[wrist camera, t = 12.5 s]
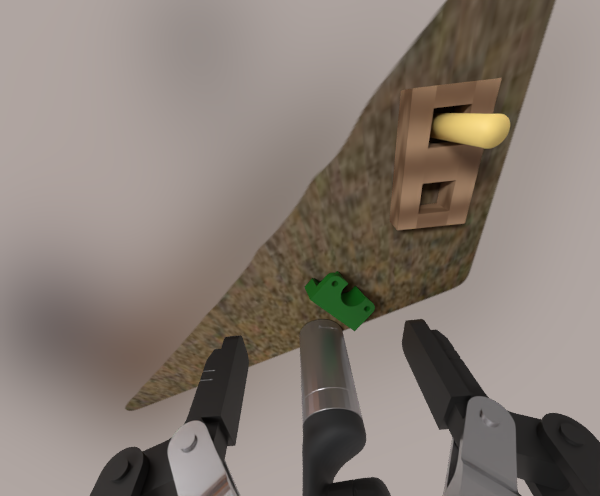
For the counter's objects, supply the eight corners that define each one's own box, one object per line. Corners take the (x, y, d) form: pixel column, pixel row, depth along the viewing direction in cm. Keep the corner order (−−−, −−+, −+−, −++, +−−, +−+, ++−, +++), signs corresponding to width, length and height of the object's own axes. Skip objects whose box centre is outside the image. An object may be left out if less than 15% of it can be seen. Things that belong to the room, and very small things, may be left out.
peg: (439, 140, 34) (497, 151, 24) (419, 134, 33) (470, 144, 24) (450, 116, 32) (516, 118, 23) (430, 109, 32) (489, 109, 22)
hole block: (451, 214, 39) (464, 223, 36) (389, 221, 40) (397, 230, 37) (480, 81, 31) (501, 77, 28) (400, 90, 31) (412, 88, 28)
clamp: (350, 279, 51) (381, 309, 44) (331, 299, 52) (358, 332, 45) (319, 256, 43) (351, 290, 36) (297, 281, 43) (324, 319, 37)
